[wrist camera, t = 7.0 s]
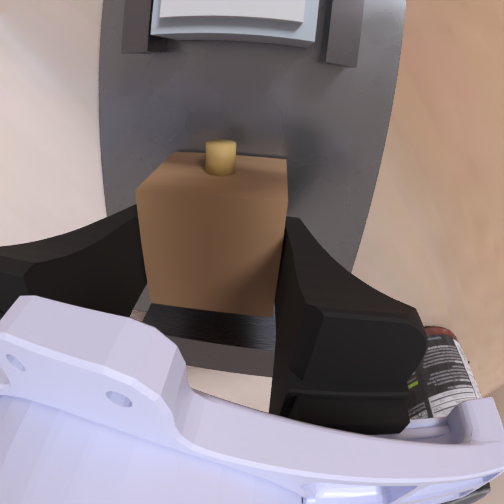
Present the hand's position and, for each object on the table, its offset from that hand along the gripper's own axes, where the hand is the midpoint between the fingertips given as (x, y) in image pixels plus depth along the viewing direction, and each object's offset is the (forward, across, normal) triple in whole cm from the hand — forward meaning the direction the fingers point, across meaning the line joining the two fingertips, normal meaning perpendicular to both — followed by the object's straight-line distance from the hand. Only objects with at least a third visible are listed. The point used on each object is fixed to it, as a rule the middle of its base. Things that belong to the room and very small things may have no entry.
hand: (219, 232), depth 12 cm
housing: (+2, 0, 0) cm, 2 cm away
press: (+3, 0, -3) cm, 4 cm away
